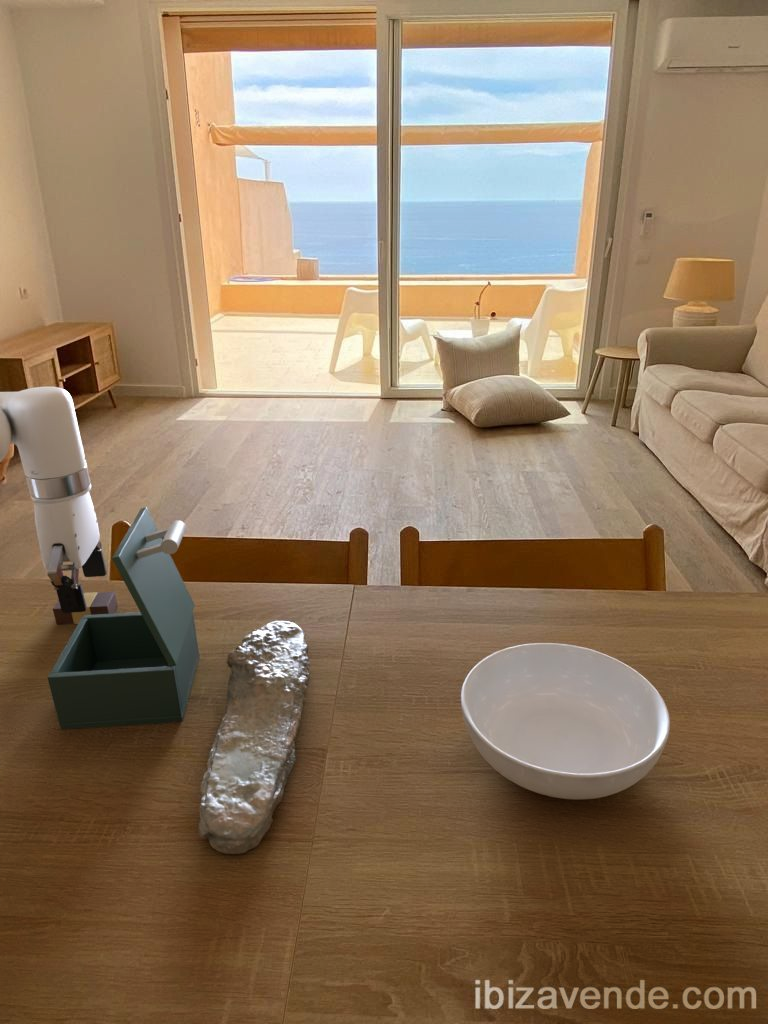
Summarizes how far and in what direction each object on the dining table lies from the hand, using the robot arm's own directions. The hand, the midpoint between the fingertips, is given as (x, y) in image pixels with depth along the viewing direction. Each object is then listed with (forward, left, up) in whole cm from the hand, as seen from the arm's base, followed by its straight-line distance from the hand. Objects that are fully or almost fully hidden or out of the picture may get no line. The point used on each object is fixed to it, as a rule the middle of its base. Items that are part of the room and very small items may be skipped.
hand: (85, 592), depth 99 cm
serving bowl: (+59, -33, -4) cm, 68 cm away
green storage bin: (+11, -18, -4) cm, 21 cm away
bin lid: (+15, -18, +11) cm, 26 cm away
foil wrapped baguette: (+27, -26, -4) cm, 38 cm away
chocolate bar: (0, 0, -4) cm, 4 cm away
